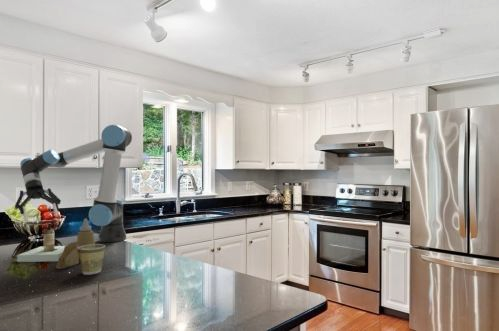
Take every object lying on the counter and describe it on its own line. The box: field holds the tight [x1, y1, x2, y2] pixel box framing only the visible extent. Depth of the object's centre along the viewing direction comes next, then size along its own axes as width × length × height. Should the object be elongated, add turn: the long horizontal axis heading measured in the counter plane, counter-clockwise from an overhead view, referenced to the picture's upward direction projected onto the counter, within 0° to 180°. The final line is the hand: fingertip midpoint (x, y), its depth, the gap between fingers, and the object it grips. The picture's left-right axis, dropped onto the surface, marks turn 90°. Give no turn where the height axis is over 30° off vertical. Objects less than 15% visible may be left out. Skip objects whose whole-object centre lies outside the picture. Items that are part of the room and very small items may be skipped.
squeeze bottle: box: [76, 217, 96, 256], centre depth 165 cm, size 8×8×18 cm
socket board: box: [16, 245, 66, 263], centre depth 169 cm, size 18×18×3 cm
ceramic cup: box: [77, 243, 106, 276], centre depth 143 cm, size 13×10×10 cm
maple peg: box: [43, 229, 55, 252], centre depth 169 cm, size 4×4×12 cm
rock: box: [55, 241, 80, 270], centre depth 152 cm, size 11×9×10 cm
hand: (41, 216), depth 179 cm, fingers open, 13 cm apart
